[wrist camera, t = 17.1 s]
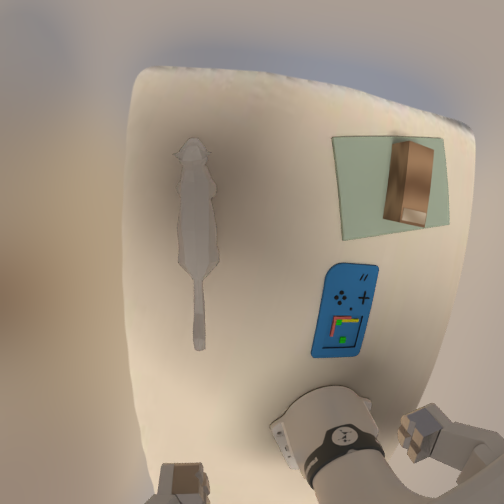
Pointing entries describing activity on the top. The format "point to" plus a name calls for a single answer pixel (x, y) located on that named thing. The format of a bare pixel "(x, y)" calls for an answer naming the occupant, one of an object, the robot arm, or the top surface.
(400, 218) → the walnut block
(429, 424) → the robot arm
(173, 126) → the top surface
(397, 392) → the top surface
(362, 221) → the rubber mat
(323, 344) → the handheld gaming device
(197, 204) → the cat figurine
